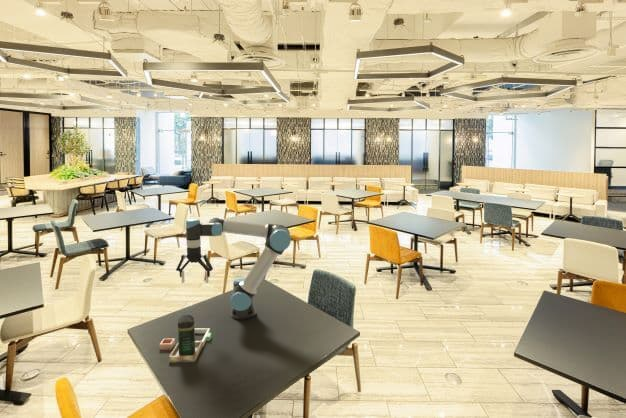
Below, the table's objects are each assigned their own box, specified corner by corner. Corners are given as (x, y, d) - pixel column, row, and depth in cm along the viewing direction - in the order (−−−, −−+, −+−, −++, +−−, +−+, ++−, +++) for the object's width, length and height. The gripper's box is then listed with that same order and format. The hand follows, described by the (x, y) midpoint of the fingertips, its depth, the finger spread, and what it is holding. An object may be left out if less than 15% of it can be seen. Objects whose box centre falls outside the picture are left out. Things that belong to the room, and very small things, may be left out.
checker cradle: (213, 332, 209) (213, 328, 209) (207, 346, 194) (207, 341, 194) (186, 332, 208) (186, 328, 208) (178, 346, 194) (178, 342, 193)
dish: (175, 343, 196) (175, 338, 196) (171, 349, 190) (171, 344, 190) (163, 343, 196) (163, 338, 196) (159, 349, 190) (159, 344, 190)
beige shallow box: (202, 346, 194) (202, 341, 193) (195, 362, 180) (195, 356, 179) (178, 346, 193) (178, 341, 193) (169, 362, 179) (168, 356, 179)
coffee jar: (195, 356, 183) (194, 321, 180) (178, 358, 181) (176, 323, 178) (195, 346, 192) (194, 312, 189) (179, 348, 190) (177, 314, 187)
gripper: (217, 244, 213) (218, 279, 216) (173, 244, 212) (175, 280, 215) (214, 248, 206) (215, 284, 209) (169, 248, 205) (170, 284, 208)
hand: (195, 282), depth 212 cm, fingers open, 13 cm apart
